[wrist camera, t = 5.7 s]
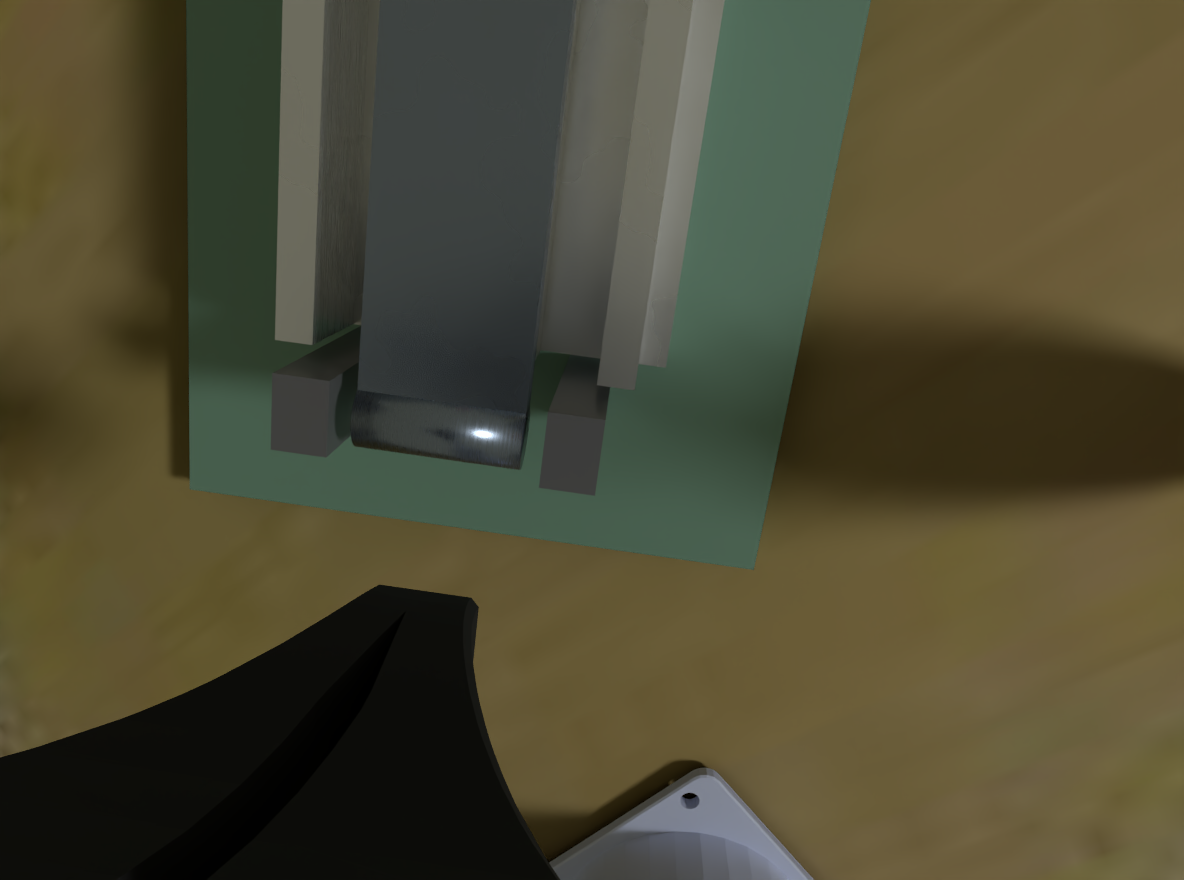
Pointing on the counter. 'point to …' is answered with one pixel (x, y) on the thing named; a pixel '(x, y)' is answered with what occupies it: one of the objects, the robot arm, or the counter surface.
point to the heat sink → (583, 183)
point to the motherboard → (634, 417)
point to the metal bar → (459, 224)
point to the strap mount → (329, 384)
